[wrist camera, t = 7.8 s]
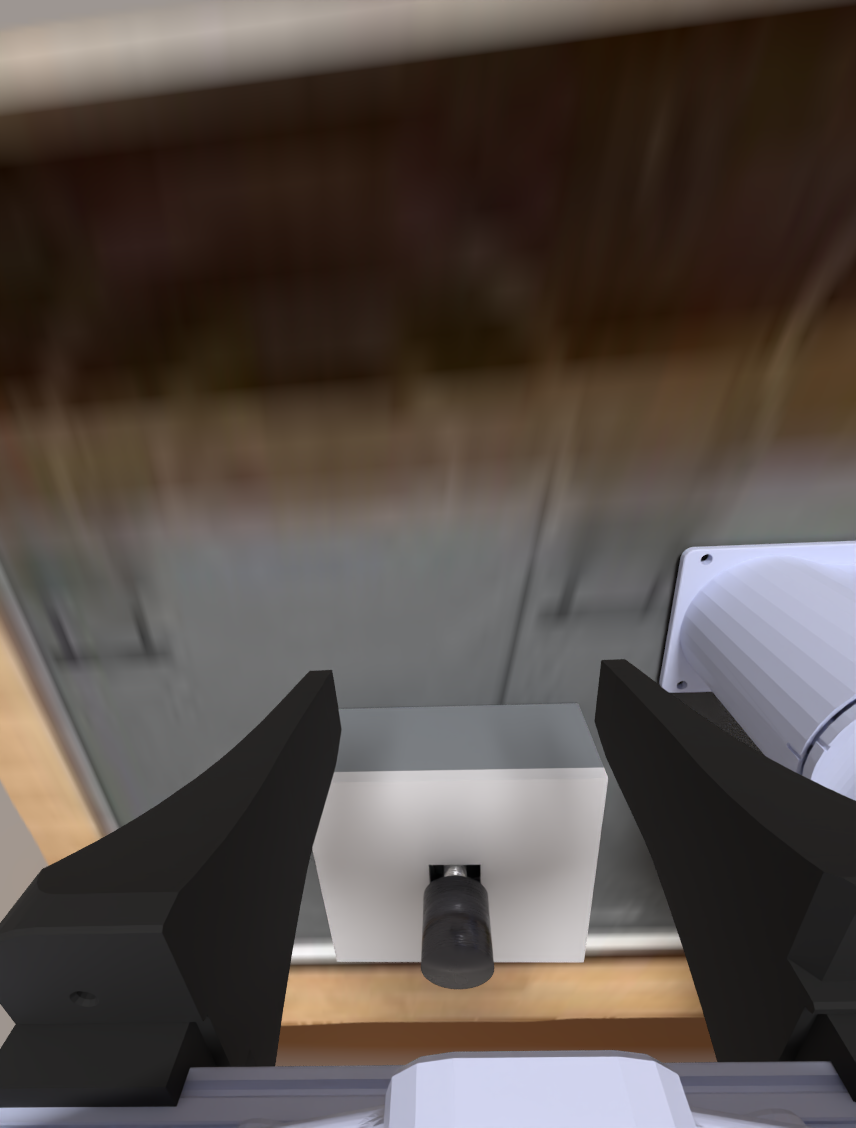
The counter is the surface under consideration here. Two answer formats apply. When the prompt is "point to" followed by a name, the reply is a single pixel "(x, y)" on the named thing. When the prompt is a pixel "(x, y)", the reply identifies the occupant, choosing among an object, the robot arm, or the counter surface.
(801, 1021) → the robot arm
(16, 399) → the counter surface
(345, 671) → the counter surface
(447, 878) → the plunger
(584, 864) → the slotted white block
